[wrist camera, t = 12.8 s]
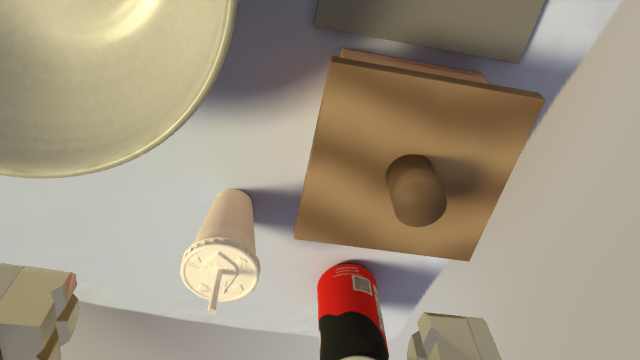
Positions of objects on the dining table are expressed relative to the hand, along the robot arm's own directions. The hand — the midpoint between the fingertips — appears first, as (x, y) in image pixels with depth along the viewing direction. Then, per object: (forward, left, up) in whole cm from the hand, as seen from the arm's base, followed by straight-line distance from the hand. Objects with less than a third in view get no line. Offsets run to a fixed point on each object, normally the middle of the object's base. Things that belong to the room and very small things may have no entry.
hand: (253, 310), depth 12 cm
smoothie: (+20, -2, -31) cm, 37 cm away
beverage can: (+28, +11, -31) cm, 43 cm away
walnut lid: (+9, +11, -24) cm, 28 cm away
